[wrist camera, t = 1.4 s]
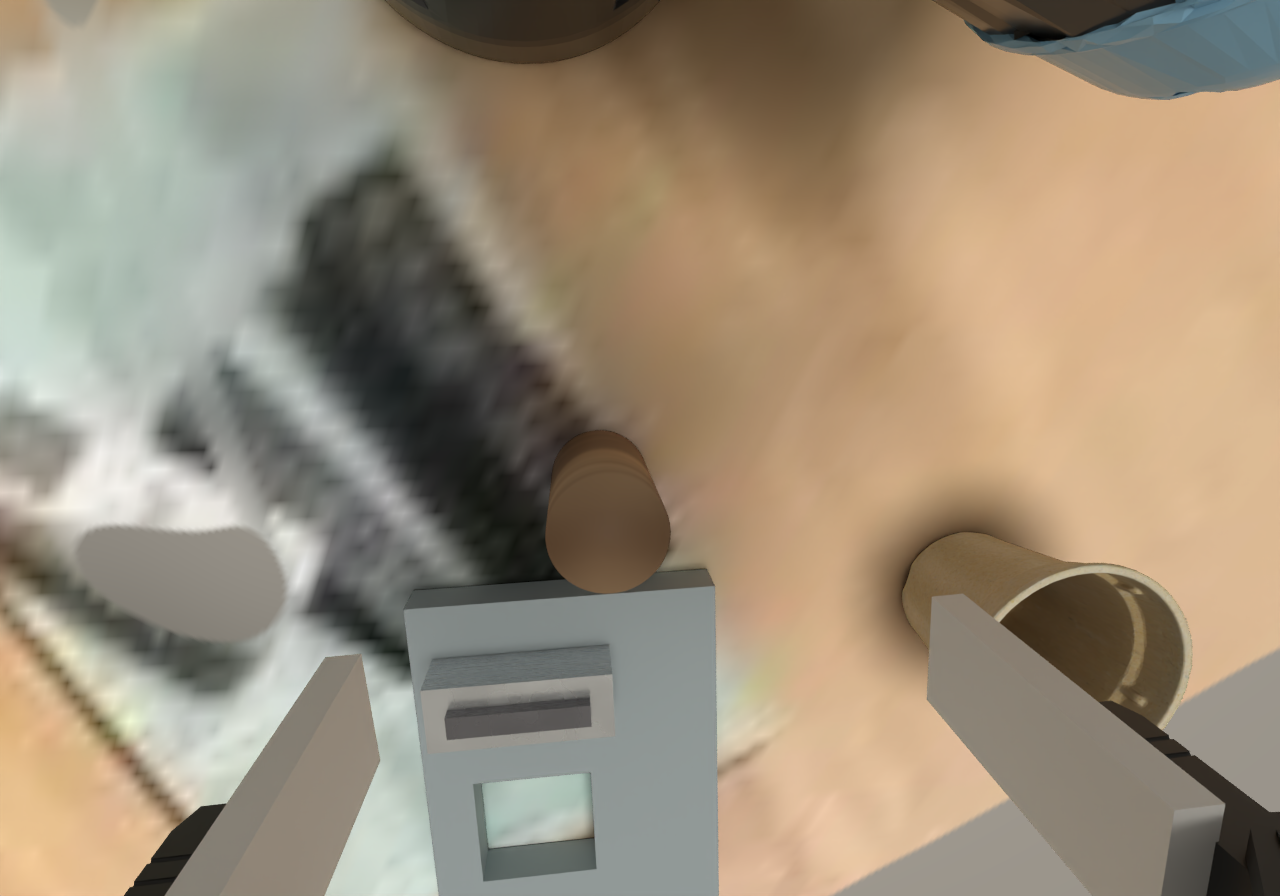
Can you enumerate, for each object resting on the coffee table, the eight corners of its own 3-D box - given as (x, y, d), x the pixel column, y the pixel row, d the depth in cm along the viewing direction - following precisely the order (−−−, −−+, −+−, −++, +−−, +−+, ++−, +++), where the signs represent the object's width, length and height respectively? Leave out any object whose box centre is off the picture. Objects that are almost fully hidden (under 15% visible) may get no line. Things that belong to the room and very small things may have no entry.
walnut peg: (548, 432, 31) (541, 479, 23) (644, 427, 31) (668, 471, 23) (555, 524, 32) (549, 598, 24) (647, 518, 32) (672, 588, 24)
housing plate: (413, 590, 32) (403, 609, 30) (706, 568, 33) (715, 586, 31) (451, 904, 36) (444, 939, 34) (711, 874, 37) (718, 907, 35)
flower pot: (831, 614, 34) (916, 717, 26) (946, 463, 33) (1075, 520, 25) (964, 699, 36) (1084, 821, 28) (1078, 559, 35) (1239, 643, 26)
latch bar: (432, 659, 30) (416, 699, 27) (609, 644, 31) (613, 682, 28) (439, 718, 31) (424, 763, 28) (612, 702, 32) (616, 745, 29)
